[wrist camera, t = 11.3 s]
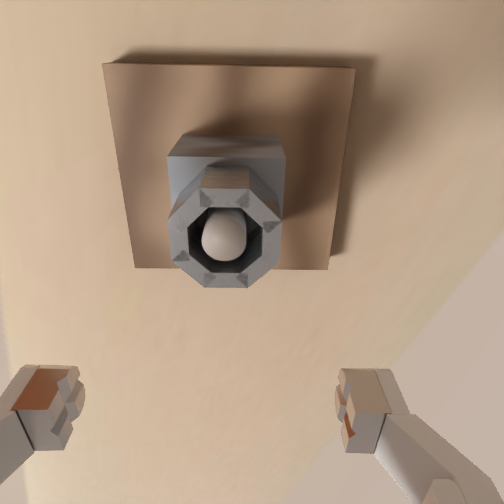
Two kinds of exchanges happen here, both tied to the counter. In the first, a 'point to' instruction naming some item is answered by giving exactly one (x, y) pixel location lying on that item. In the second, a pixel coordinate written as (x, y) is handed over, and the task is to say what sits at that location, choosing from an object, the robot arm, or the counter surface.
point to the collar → (226, 195)
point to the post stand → (230, 150)
